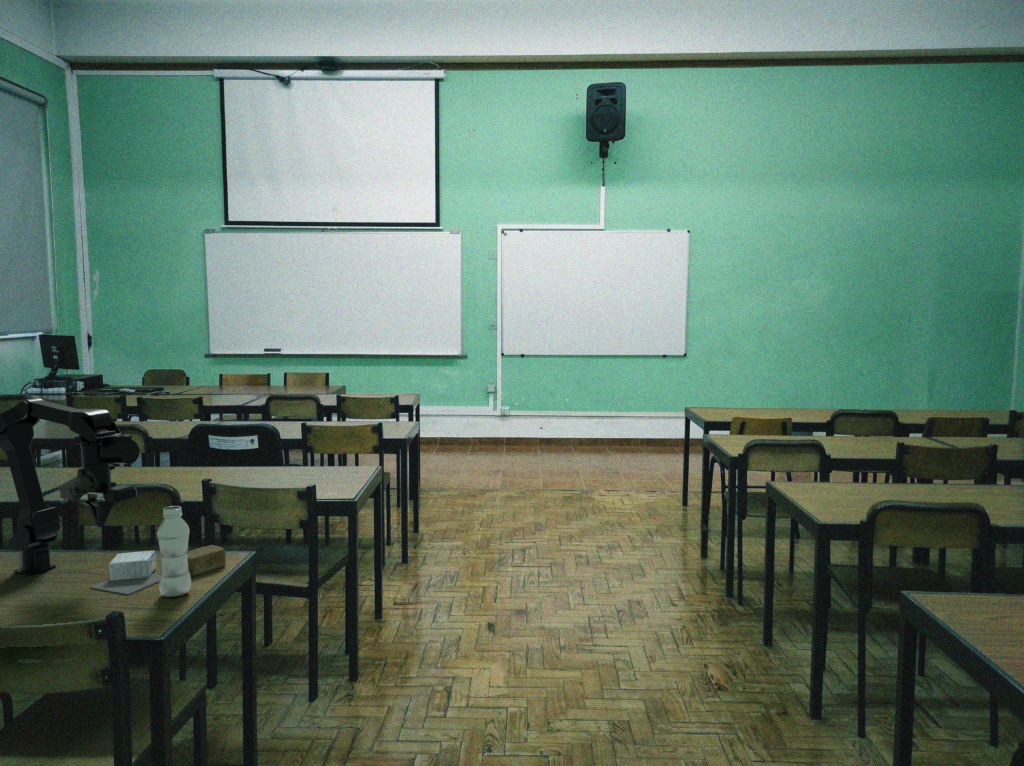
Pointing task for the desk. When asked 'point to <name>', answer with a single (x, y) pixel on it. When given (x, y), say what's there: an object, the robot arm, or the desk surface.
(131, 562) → the medicine box
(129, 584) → the mat
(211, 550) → the stone block
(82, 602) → the desk surface
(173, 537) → the plastic bottle
